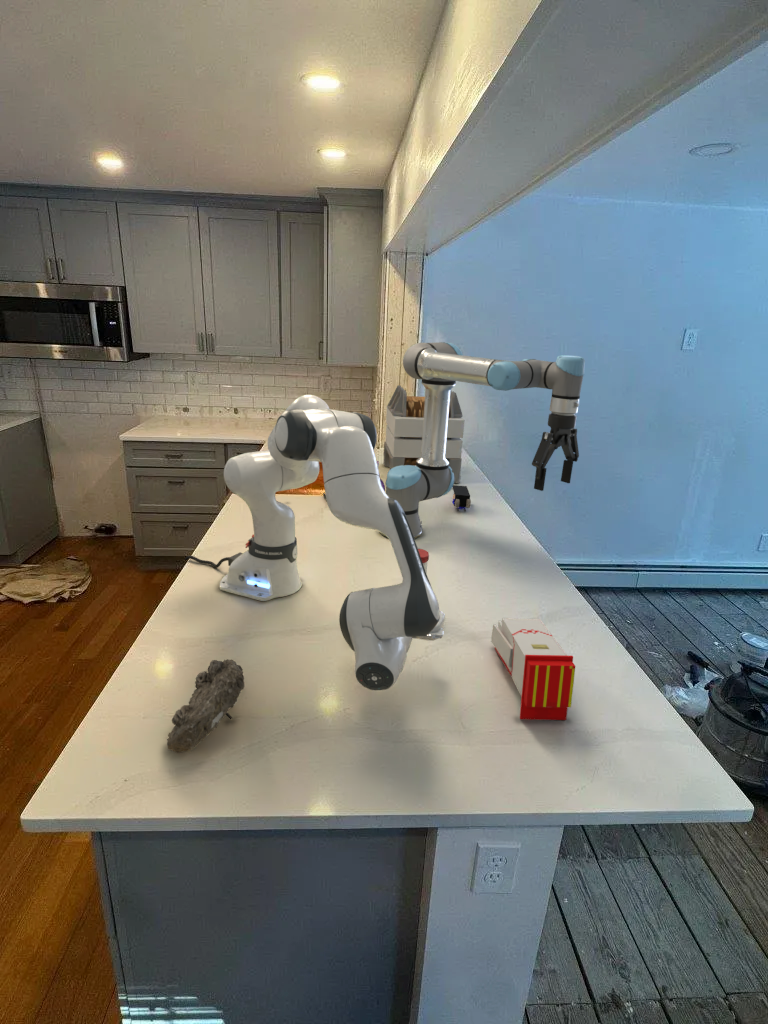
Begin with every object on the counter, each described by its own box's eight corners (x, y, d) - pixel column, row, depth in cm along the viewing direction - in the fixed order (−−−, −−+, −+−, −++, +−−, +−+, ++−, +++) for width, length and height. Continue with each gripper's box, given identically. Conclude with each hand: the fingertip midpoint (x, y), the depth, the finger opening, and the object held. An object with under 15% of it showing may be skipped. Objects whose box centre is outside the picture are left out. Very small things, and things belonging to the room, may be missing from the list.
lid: (407, 564, 144) (408, 558, 144) (403, 554, 150) (404, 548, 149) (430, 563, 145) (431, 557, 145) (425, 553, 151) (426, 548, 150)
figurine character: (470, 516, 223) (465, 500, 237) (473, 499, 220) (467, 484, 233) (453, 516, 223) (449, 500, 236) (455, 498, 220) (451, 483, 233)
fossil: (192, 660, 117) (244, 628, 112) (224, 691, 120) (276, 661, 115) (142, 746, 98) (202, 712, 93) (182, 779, 101) (242, 748, 96)
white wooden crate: (382, 463, 289) (386, 382, 275) (445, 464, 293) (451, 384, 279) (390, 482, 257) (394, 392, 243) (460, 483, 261) (468, 394, 247)
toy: (537, 603, 136) (584, 662, 106) (532, 655, 138) (577, 726, 109) (487, 602, 135) (520, 661, 106) (483, 654, 138) (514, 725, 109)
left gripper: (443, 626, 113) (449, 595, 126) (344, 613, 117) (360, 583, 130) (440, 653, 115) (447, 620, 128) (344, 639, 119) (360, 608, 132)
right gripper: (548, 419, 148) (537, 496, 155) (598, 411, 163) (586, 482, 171) (525, 414, 153) (515, 489, 160) (575, 407, 169) (564, 476, 176)
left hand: (403, 601), depth 129 cm, fingers open, 8 cm apart
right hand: (552, 485), depth 166 cm, fingers open, 13 cm apart
